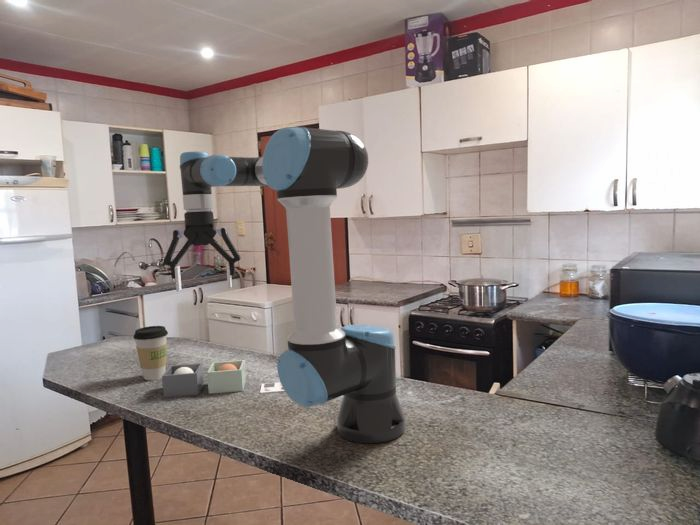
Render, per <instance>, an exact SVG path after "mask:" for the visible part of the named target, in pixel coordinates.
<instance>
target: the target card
mask: <svg viewBox="0 0 700 525" xmlns="http://www.w3.org/2000/svg"><path fill="white" fill-rule="evenodd" d="M278 392H279V393H280V392H285V390H284V389H283V387H282V384H281V382H280V381H279V382H278V381H277V382H268V383H261V386H260V391H259V394H268V393H269V394H270V393H278Z"/></svg>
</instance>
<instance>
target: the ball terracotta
mask: <svg viewBox="0 0 700 525" xmlns="http://www.w3.org/2000/svg"><path fill="white" fill-rule="evenodd" d="M226 370H238V369H237V368H236V367H235V366H234V365H232V364H224V365H222V366H221V367H220V368H219V369H218V371H226Z"/></svg>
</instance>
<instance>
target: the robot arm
mask: <svg viewBox="0 0 700 525" xmlns="http://www.w3.org/2000/svg"><path fill="white" fill-rule="evenodd" d="M368 166H369V154H368V150H367V148H366V146H365V144H364V143H363V142H362V140H361V139H360V138H359V137H357V136H356V135H354V134H352V133H351V132H348V131H343V130H330V129H323V128H314V127H305V126H295V127H282V128H280V129H278V130H277V131H275V132H274V133H273V134H272V135H271V137H270V138H269V140H268V141H267V143H266V145H265V148H264V152H263V155H262V156H258V157H248V156H247V157H243V156H242V157H241V156H227V155H225V154H211V155H209V154H208V153H207V152H205V151H195V150H194V151H185V152H182V153H180V156H179V169H180V177H181V190H182V192H181V193H182V202H183V203H182V204H183V210H184V211H186V212H184V213H183V214H184V229H183V230H179V229H174V230H173V231H172V240H171V242H170V245H169V247H168V249H167V252H166V254H165V256H164V259H163V261H162V265H163V266H167V267H170V273H171V278H172V279H174V280H175V289H176V292H180V291H181V290H183V289H182V279H181V278H182V277H181V266H180V265H178V264H179V262H181V260H182V259H183V257H184V256H185V255H186V253H187V252H188V251H189V249H190V248H191V246H194V247H196V246H197V247H198V246H208V245H210V246H212V247H213V248H214V249H215V250H216V251H217V252H218V253H219V254H220V255H221V256H222V257H223V258H224V259H225V260H226V261H227V262H228V263H226V264H225V265H226V266H225V267H226V279H227V280H226V281H227V289H231V288H232V287H233V285H232V283H233V282H232V276H234V275H235V274H236V270H235V269H236V268H235V263H236V262H239V261H241V259H242V258H241V255H240V254H239V252H238V250H237V249H236V247H235V245H234V243H233V242H232V240H231V239H230V237H229V236H228V230H227V227H222V228H216V227H215V222H214V221H215V220H214V212H213V211H212V210H213V208H214V206H213V195H212V194H213V193H212V188H215V187H269V188H270V189H272V190H274V191H276V197H277V198H276V199H277V201H278V202H279V203H280V204H281V205H282V206H283V207H284V208H285V213H286V214H285V215H286V228H287V229H286V230H287V240H288V241H287V242H288V254H289V255H288V256H289V269H290V270H289V272H290V282H291V283H290V284H291V296H292V297H291V298H292V300H291V301H292V311H293V312H292V313H293V324H294V326H293V327H294V328H293V330H292V331H291V333H290V334H289V335H288V336H287V349H286V350H284V351H283V352H282V353H281V354H280V355H279V356H278V359H277V363H276V364H277V365H276V367H277V368H276V369H277V375H278V379H279V382H281V384H282V387H283V389H284V390H285V391H284V392H285V393H286V395H287V397H288V398H289V399H290V400H291V401H292V402H294V403H295V404H296V405H298V406H301V407H303V408H311V407H314V406H318V405H324V404H325V403H327V402H329V401H331V400H335V399H337V398H339V397H342V396H343V397H342V402H341V405H340V408H339V412H338V415H337V421H336V425H337V426H336V427H337V433H338V434H339V436H341V437H342V438H344V439H345V440H348V441H351V442H355V443H360V444H378V443H379V444H380V443H385V442H390V441H393V440H395V439H397V438H399V437H401V436H402V435H403V433H404V432H405V431H406V416H405V414H404V411H403V408H402V406H401V403H400V401H399V396H398V395H397V381H396V380H397V378H396V376H397V373H396V372H397V371H396V370H397V368H396V346H395V337H394V332H392V330H391V329H389V328H387V327H383V326H381V325H371V324H347V325H344V326H342V327H341V328H340V327H339V325H338V316H337V303H336V302H337V301H336V284H335V283H336V282H335V266H334V255H333V254H334V252H333V237H332V236H333V235H332V221H331V220H332V219H331V205H332V203H333V202H334V201H335V200H336V199H337V198H338V194H337V192H338V191H337V190H338V189H345V188H346V189H347V188H349V187H352V186H354V185H356V184H357V183H359V182H360V181H361V180H362V179H363V177H364V176H365V174H366V173H367V170H368ZM216 234H218V236H219V237H221V238H222V240H223V242H224V243H225V244H226V247H227V248H228V250H229V251H230V253H231V255H232V256H231V255H230V254H229V253H228V252H227V251H226V250H225V248H224V247H222V245H221V244H220V243H219V242H218V241H217V240H216V239H215V236H216ZM183 236H184V237H185V238H186V239H187V240H186V242H185V243H184V244H183V246H182V248H181V249H180V250H179V251H178V253H177V254H176V256H175V257H174V258H173V256H174V253H175V251H176V249H177V246H178V244H179V241H180V239H181V238H182V237H183ZM172 258H173V259H172Z"/></svg>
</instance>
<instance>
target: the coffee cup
mask: <svg viewBox="0 0 700 525" xmlns="http://www.w3.org/2000/svg"><path fill="white" fill-rule="evenodd" d="M134 331H135V332H134V334H133V339H134V340H135V343H136V346H135V347H136V351H137V356H138V361H139V365H140V369H141V372H142V378H143V380H144V379H145V380H146V381H157V380H161V379H162V375H163V374H164V373H165V372H166V370H167V368H166V367H167V366H166V365H167V352H168V350H167V347H168V346H167V345H168V342H167V336H168V334H169V333H168V332H169V331H168V330H167V329H166V326H163V325H152V326H144V327H140V328H138V329H136V330H134ZM160 378H161V379H160ZM145 380H144V381H145Z"/></svg>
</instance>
